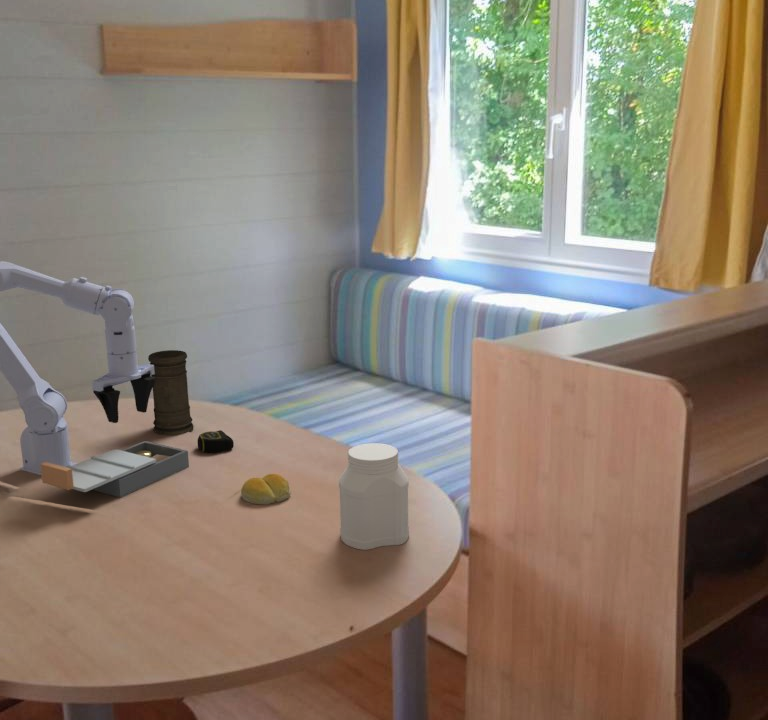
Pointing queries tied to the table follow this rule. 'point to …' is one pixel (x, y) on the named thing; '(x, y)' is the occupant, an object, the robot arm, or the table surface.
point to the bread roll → (265, 489)
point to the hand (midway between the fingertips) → (127, 416)
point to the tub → (147, 469)
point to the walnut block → (159, 458)
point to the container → (170, 393)
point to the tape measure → (214, 442)
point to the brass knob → (144, 454)
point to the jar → (373, 498)
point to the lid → (94, 470)
